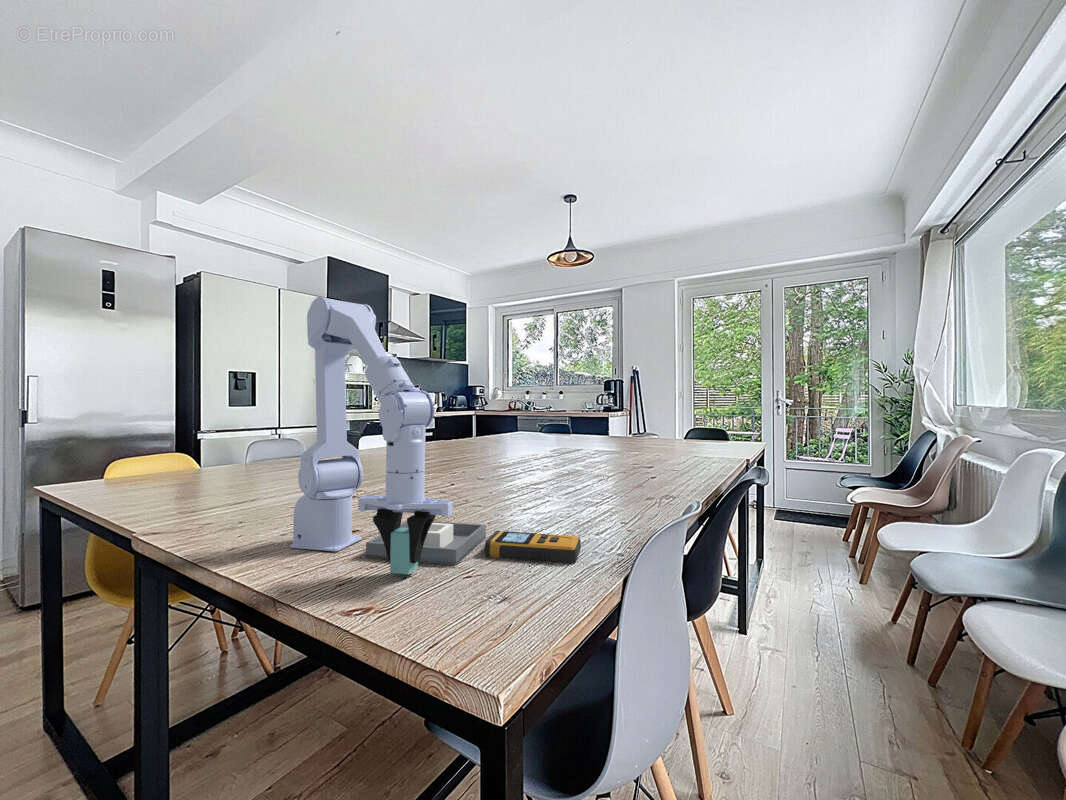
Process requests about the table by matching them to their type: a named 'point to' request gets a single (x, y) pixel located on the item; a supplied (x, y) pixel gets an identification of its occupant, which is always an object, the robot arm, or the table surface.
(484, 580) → the table surface
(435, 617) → the table surface
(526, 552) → the electronic device
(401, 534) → the plug peg
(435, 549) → the socket box
